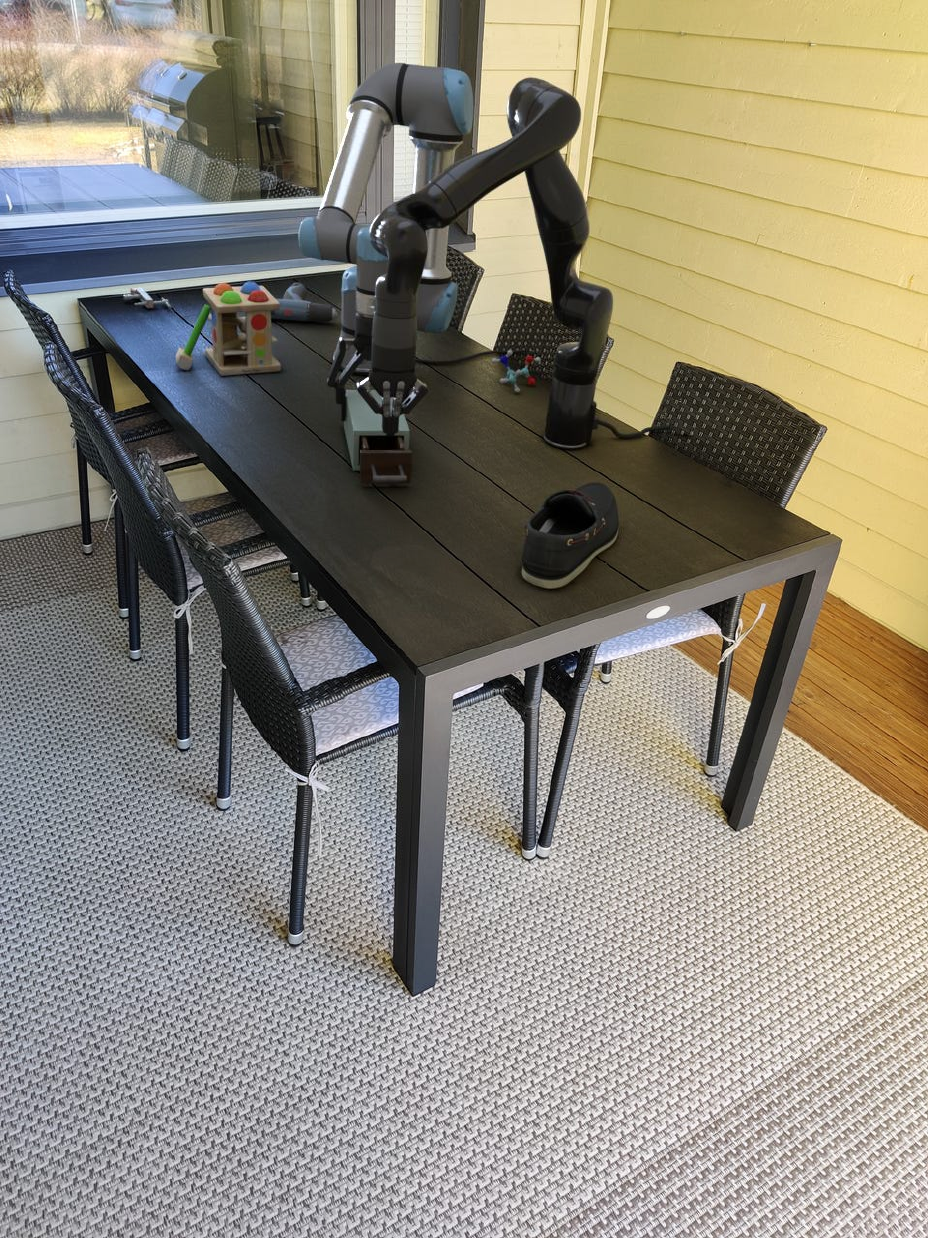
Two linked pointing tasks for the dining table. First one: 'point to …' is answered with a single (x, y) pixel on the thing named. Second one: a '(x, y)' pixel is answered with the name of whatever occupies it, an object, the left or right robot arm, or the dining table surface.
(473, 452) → the dining table surface
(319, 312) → the power drill
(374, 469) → the drawer
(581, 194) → the right robot arm
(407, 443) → the cabinet
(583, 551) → the boat shoe
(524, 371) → the molecular model
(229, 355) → the pounding bench toy
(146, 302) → the clamp
